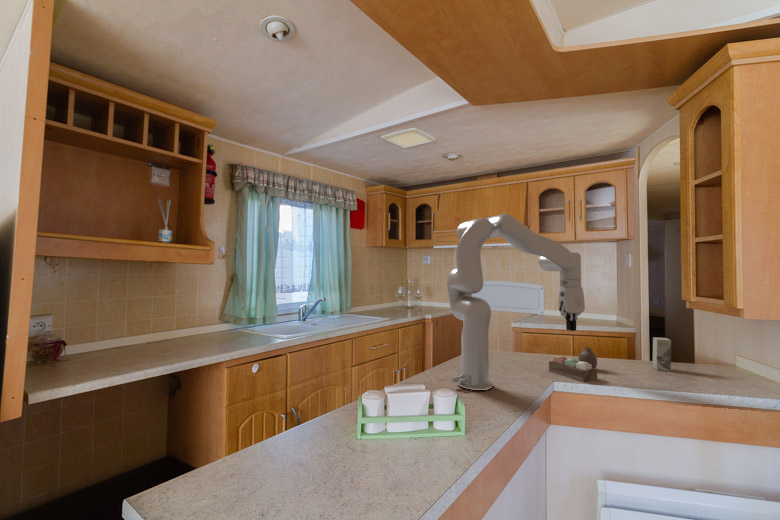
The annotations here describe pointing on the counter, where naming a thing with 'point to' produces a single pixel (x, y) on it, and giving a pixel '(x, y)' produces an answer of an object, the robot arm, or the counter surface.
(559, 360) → the terracotta button
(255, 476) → the counter surface
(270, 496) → the counter surface
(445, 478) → the counter surface
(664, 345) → the box
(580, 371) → the brown tray
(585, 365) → the cream button
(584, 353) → the vase
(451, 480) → the counter surface
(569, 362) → the sage button
